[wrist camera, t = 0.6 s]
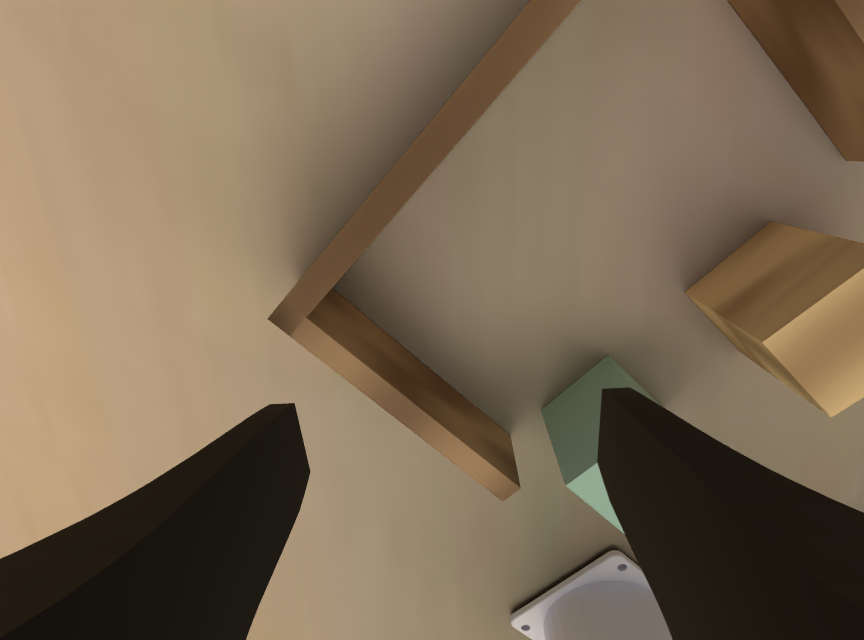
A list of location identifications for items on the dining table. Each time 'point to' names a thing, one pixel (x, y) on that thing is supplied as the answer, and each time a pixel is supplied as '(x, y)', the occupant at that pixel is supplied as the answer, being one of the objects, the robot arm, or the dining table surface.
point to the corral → (549, 5)
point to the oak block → (794, 310)
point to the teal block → (585, 432)
